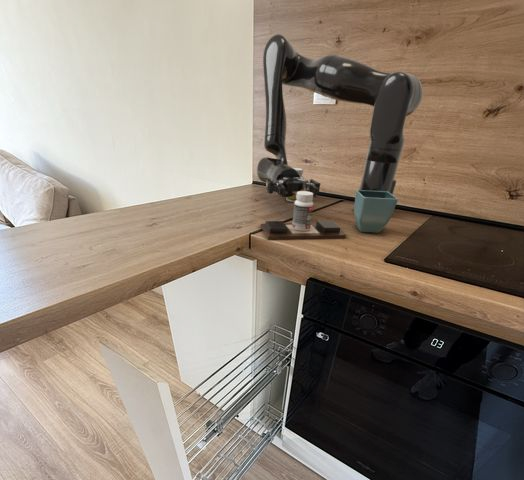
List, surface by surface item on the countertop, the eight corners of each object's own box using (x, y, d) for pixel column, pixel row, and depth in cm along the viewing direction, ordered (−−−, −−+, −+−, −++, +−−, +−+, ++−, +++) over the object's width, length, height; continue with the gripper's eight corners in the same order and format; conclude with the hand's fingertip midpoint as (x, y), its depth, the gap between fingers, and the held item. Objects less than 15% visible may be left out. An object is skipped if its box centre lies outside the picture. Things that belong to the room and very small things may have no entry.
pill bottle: (309, 232, 76) (314, 195, 71) (290, 230, 77) (294, 194, 72) (310, 226, 80) (315, 191, 75) (292, 224, 80) (296, 190, 75)
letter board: (331, 225, 84) (332, 218, 83) (345, 238, 77) (346, 230, 76) (260, 226, 81) (260, 218, 80) (268, 239, 73) (268, 231, 72)
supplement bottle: (284, 198, 107) (287, 167, 101) (298, 198, 108) (302, 167, 102) (288, 202, 103) (291, 170, 96) (303, 202, 104) (307, 170, 98)
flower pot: (348, 224, 86) (355, 189, 81) (378, 226, 86) (388, 191, 81) (354, 234, 79) (363, 196, 74) (387, 236, 79) (399, 199, 74)
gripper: (261, 164, 87) (273, 175, 74) (309, 165, 89) (328, 176, 77) (260, 193, 91) (271, 208, 79) (305, 194, 94) (323, 208, 81)
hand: (299, 192), depth 78 cm, fingers open, 8 cm apart
